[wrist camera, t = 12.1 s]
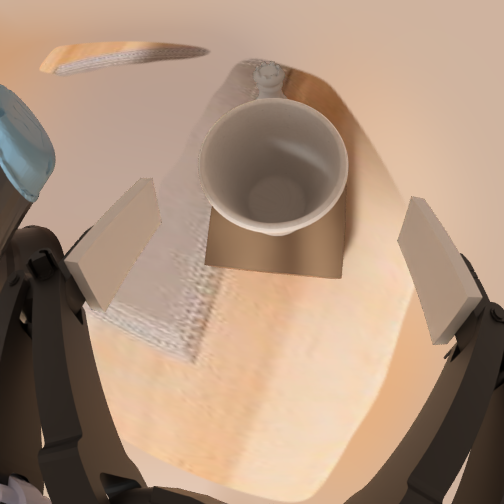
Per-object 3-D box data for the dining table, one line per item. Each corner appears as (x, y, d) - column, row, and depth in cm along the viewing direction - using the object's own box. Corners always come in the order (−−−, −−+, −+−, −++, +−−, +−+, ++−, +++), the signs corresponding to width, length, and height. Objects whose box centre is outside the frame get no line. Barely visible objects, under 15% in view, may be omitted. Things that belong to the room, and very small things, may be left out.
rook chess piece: (285, 95, 30) (284, 52, 22) (294, 122, 30) (296, 80, 22) (250, 101, 31) (241, 59, 23) (258, 129, 30) (250, 88, 22)
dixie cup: (299, 268, 23) (311, 261, 13) (214, 226, 24) (170, 193, 14) (338, 184, 23) (368, 129, 14) (256, 148, 25) (240, 81, 15)
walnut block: (217, 267, 29) (204, 264, 24) (231, 161, 30) (221, 141, 25) (331, 278, 28) (341, 278, 23) (337, 169, 29) (346, 150, 24)
